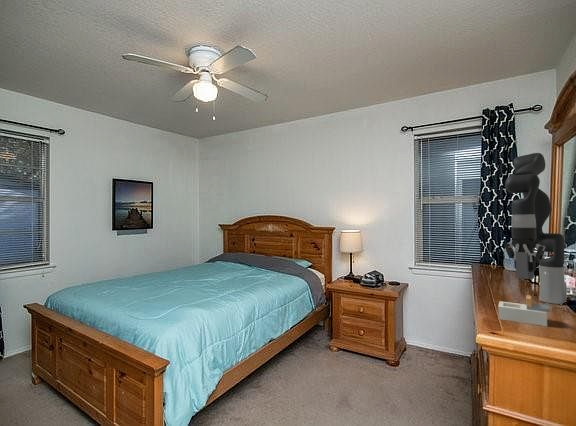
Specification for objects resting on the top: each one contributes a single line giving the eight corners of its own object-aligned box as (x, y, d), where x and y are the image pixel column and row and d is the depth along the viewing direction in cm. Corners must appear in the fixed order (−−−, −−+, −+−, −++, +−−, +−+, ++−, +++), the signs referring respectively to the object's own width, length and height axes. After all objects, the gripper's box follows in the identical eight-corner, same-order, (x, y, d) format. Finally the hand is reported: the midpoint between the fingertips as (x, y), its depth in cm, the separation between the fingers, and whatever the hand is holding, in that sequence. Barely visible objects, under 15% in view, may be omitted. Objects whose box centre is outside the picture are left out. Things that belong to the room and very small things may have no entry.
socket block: (499, 312, 132) (499, 301, 132) (545, 319, 123) (545, 306, 123) (498, 319, 124) (498, 306, 124) (547, 326, 115) (546, 312, 115)
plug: (522, 276, 121) (521, 244, 121) (534, 278, 117) (533, 245, 118) (516, 277, 119) (515, 245, 120) (527, 279, 116) (526, 246, 116)
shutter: (526, 304, 125) (526, 295, 125) (548, 307, 121) (548, 297, 121) (526, 308, 120) (526, 298, 120) (550, 312, 115) (549, 301, 116)
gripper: (498, 226, 124) (499, 269, 124) (538, 227, 111) (540, 274, 111) (510, 225, 127) (511, 267, 127) (550, 226, 114) (552, 272, 114)
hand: (525, 270), depth 119 cm, fingers closed on plug, 4 cm apart
